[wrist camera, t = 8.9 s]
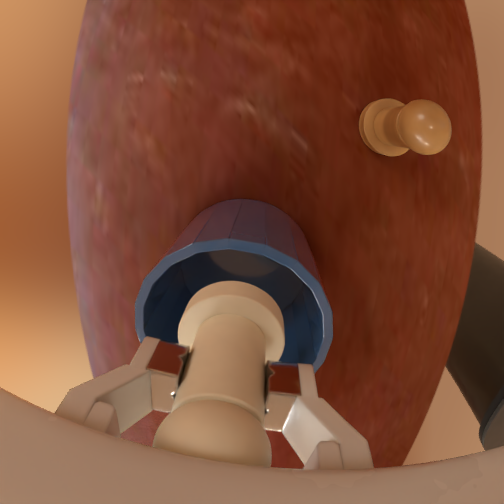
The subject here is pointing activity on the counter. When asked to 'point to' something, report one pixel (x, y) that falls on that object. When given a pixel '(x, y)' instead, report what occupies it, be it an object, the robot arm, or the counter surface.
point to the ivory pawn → (224, 375)
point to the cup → (241, 275)
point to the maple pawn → (405, 127)
